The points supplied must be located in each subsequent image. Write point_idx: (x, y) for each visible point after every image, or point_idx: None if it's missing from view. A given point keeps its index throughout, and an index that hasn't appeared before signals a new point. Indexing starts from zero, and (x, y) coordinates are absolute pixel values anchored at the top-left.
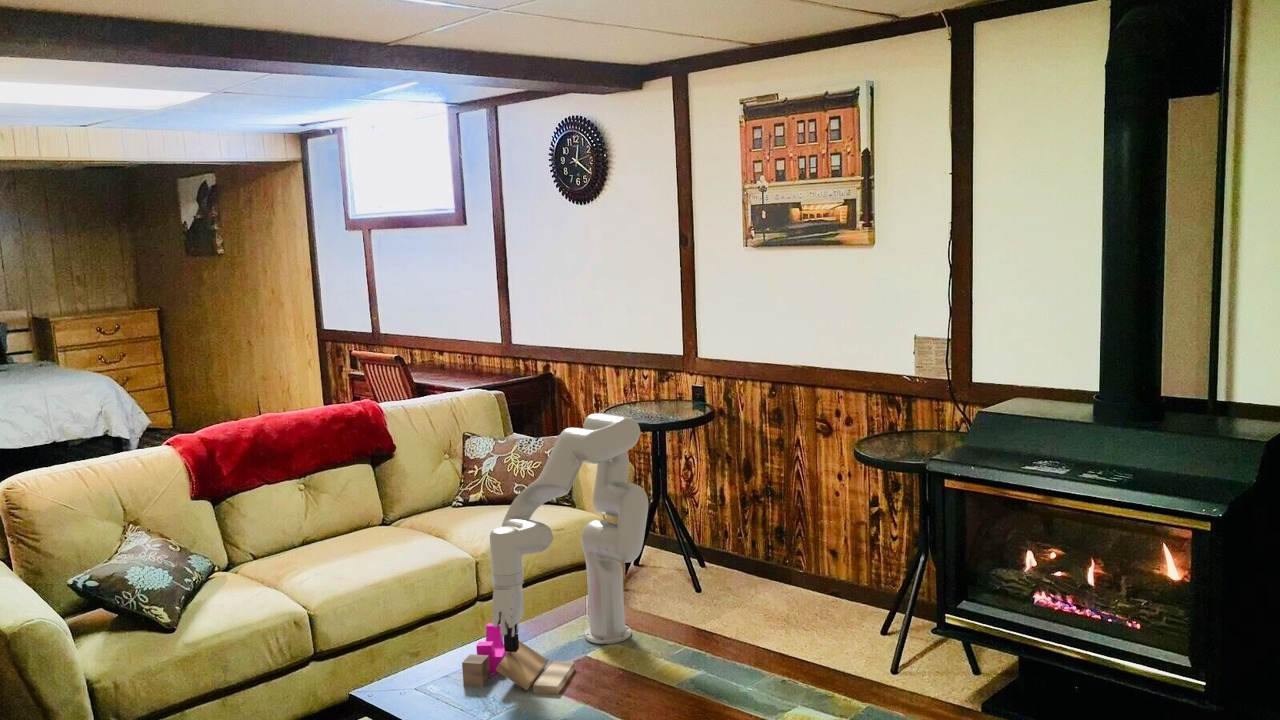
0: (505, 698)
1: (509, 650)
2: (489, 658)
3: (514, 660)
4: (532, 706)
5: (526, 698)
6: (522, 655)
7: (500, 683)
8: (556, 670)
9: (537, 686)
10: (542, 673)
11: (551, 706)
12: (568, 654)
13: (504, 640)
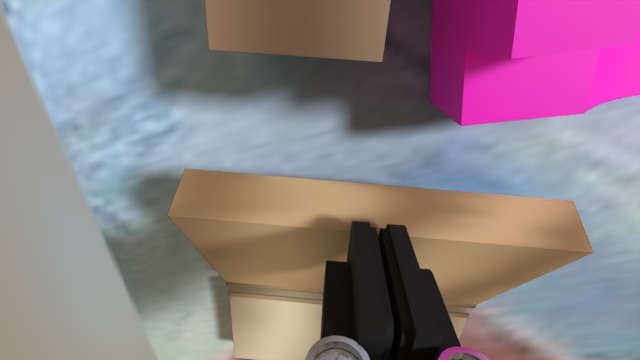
0: (172, 182)
1: (349, 256)
2: (463, 28)
3: (315, 252)
4: (144, 281)
5: (194, 253)
6: None
7: (310, 121)
8: None
9: (231, 300)
10: None
11: (162, 327)
12: (590, 317)
13: (355, 289)
